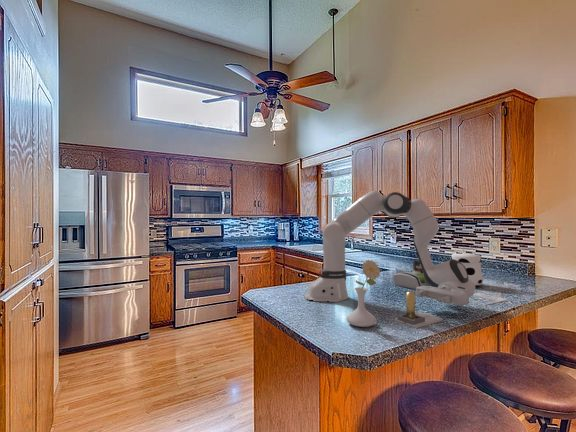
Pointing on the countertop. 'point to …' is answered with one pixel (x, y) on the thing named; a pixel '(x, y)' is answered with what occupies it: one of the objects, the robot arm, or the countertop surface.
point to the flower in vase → (361, 314)
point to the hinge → (407, 280)
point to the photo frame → (488, 298)
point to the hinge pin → (410, 305)
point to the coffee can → (419, 271)
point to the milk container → (471, 266)
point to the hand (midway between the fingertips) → (429, 297)
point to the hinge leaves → (418, 319)
